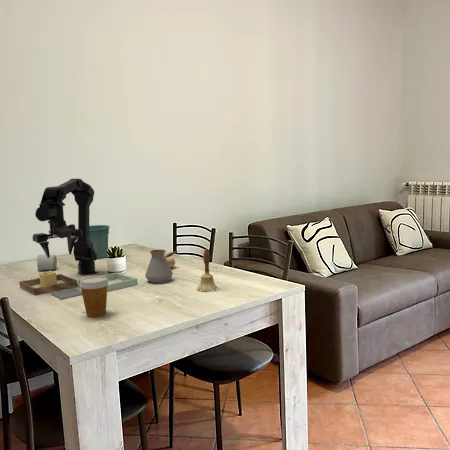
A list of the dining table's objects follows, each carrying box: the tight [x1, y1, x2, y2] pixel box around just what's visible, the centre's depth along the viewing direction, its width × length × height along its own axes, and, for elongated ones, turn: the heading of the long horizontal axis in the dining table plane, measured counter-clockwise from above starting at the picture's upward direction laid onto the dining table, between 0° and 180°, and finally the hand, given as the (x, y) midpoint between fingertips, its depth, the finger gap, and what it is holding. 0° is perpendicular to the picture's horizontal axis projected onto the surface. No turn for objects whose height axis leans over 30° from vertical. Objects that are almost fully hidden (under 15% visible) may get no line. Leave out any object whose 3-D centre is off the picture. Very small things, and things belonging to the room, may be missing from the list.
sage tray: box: [78, 272, 138, 293], centre depth 201 cm, size 18×17×2 cm
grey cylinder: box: [36, 254, 58, 272], centre depth 234 cm, size 11×8×8 cm
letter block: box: [38, 270, 58, 287], centre depth 202 cm, size 5×5×6 cm
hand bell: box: [196, 248, 219, 292], centre depth 190 cm, size 8×8×16 cm
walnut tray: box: [19, 273, 79, 296], centre depth 202 cm, size 18×17×2 cm
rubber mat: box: [50, 287, 83, 300], centre depth 190 cm, size 10×10×1 cm
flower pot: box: [89, 224, 111, 260], centre depth 259 cm, size 16×16×16 cm
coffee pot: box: [144, 249, 180, 284], centre depth 201 cm, size 21×12×15 cm, turn 37°
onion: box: [164, 253, 176, 269], centre depth 228 cm, size 8×8×7 cm
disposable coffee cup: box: [78, 275, 110, 318], centre depth 163 cm, size 10×10×12 cm
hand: (59, 256), depth 200 cm, fingers open, 9 cm apart
